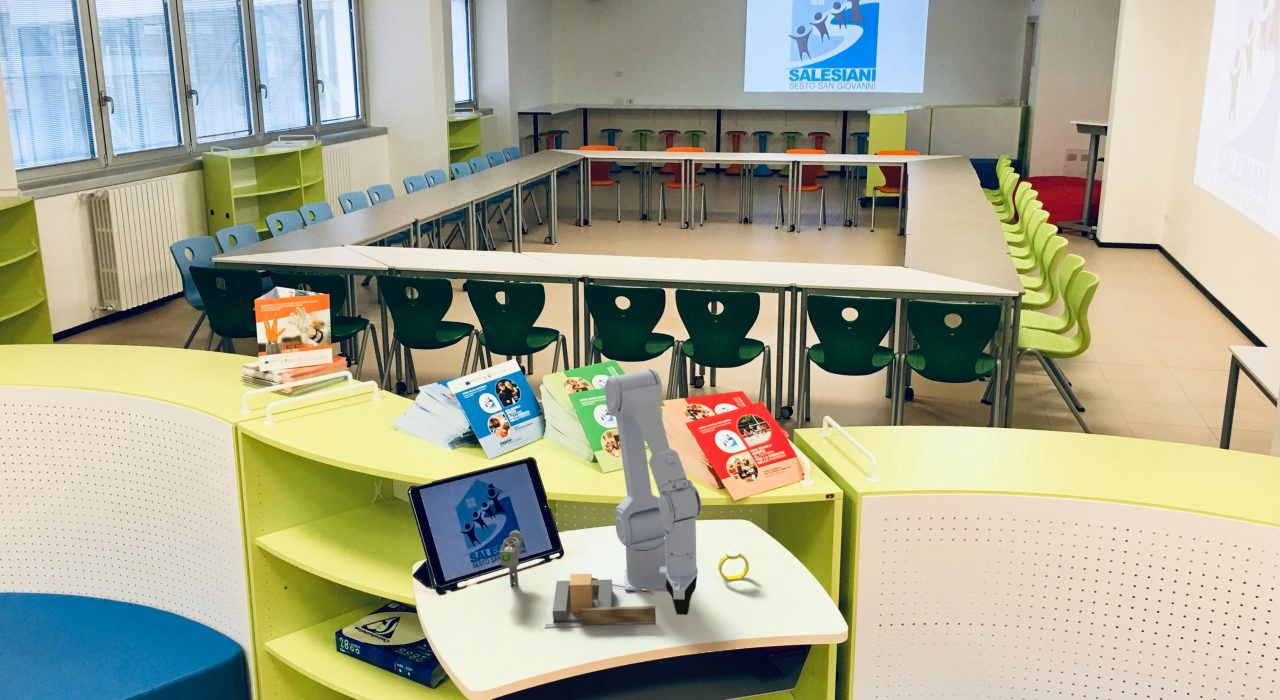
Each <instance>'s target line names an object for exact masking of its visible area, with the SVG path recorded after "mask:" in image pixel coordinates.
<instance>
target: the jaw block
mask: <svg viewBox="0 0 1280 700" xmlns="http://www.w3.org/2000/svg"><path fill="white" fill-rule="evenodd" d="M592 580H593V578H592V573H579V574H578V573H573V574H572V573H571V574H570V578H569V581H570V598H571V613H573V612H581V608H592V606H593V594H592Z"/></svg>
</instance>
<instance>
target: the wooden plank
mask: <svg viewBox="0 0 1280 700" xmlns="http://www.w3.org/2000/svg"><path fill="white" fill-rule="evenodd" d="M656 614H657V613H656V605H642V606H612V607H599V608H581V618H582V622H581V623H582V624H605V623H641V622H656V623H657V618H656V617H657V616H656Z"/></svg>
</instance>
